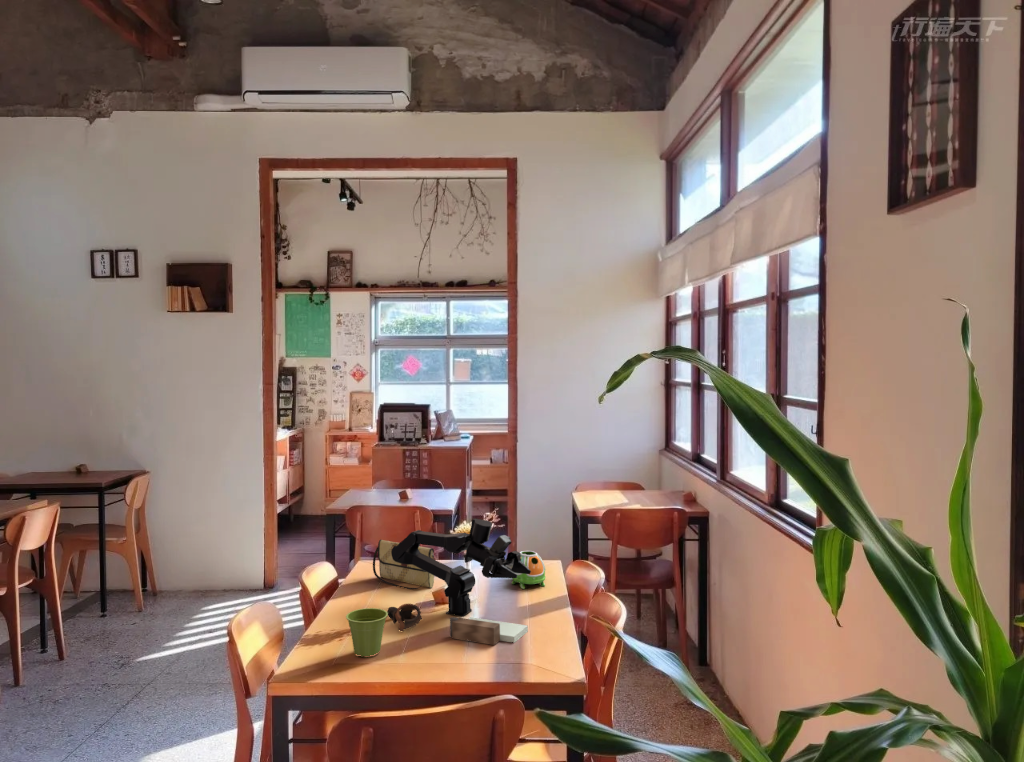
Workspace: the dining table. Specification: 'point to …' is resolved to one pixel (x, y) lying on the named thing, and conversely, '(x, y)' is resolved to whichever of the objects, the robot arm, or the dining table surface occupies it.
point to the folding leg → (474, 630)
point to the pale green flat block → (508, 630)
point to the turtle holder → (535, 566)
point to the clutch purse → (401, 566)
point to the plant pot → (367, 630)
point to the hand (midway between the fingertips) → (523, 574)
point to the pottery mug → (404, 616)
